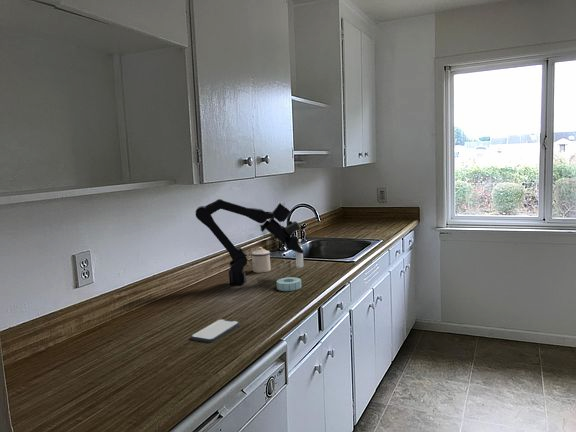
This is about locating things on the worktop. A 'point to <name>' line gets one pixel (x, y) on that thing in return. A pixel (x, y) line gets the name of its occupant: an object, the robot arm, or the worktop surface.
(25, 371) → the worktop surface
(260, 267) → the teacup with lid
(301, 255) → the white rounded peg
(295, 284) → the pale blue segmented ring
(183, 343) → the worktop surface
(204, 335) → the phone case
